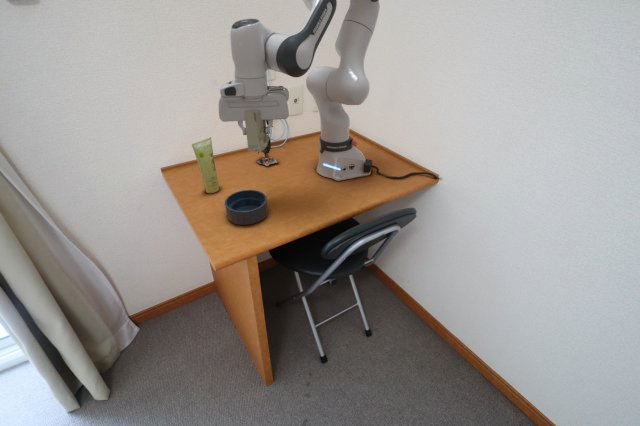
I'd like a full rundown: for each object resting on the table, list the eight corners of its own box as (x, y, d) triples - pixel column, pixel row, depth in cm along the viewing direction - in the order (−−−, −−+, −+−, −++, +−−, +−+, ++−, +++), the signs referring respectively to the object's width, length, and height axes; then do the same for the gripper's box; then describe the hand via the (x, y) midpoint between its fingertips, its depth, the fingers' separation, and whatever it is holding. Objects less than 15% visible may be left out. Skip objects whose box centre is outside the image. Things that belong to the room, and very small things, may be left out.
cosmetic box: (261, 152, 96) (257, 112, 89) (247, 151, 97) (243, 111, 90) (268, 144, 102) (265, 106, 95) (255, 143, 102) (251, 105, 95)
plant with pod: (270, 155, 142) (266, 110, 131) (280, 164, 134) (276, 118, 123) (253, 158, 139) (247, 113, 128) (262, 168, 131) (257, 121, 119)
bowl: (267, 201, 110) (265, 188, 107) (269, 223, 100) (267, 209, 97) (228, 205, 108) (225, 191, 105) (226, 228, 98) (223, 213, 94)
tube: (217, 194, 114) (207, 143, 103) (203, 194, 114) (191, 143, 103) (220, 186, 119) (211, 137, 107) (207, 186, 118) (196, 137, 107)
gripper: (287, 83, 93) (289, 128, 101) (215, 84, 90) (223, 131, 97) (289, 88, 88) (291, 135, 96) (214, 90, 85) (222, 139, 92)
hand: (256, 133), depth 97 cm, fingers closed on cosmetic box, 5 cm apart
